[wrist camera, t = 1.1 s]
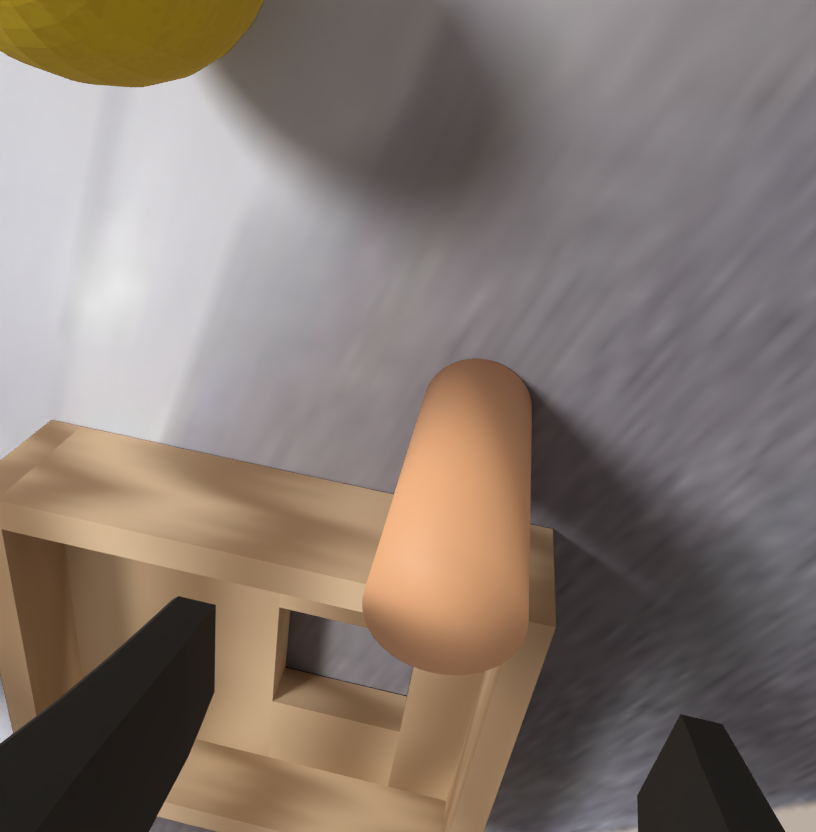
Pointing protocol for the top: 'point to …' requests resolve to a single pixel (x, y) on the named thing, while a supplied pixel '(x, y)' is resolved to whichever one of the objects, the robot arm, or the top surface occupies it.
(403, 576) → the peg
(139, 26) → the lemon
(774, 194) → the top surface
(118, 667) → the robot arm
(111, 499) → the box
